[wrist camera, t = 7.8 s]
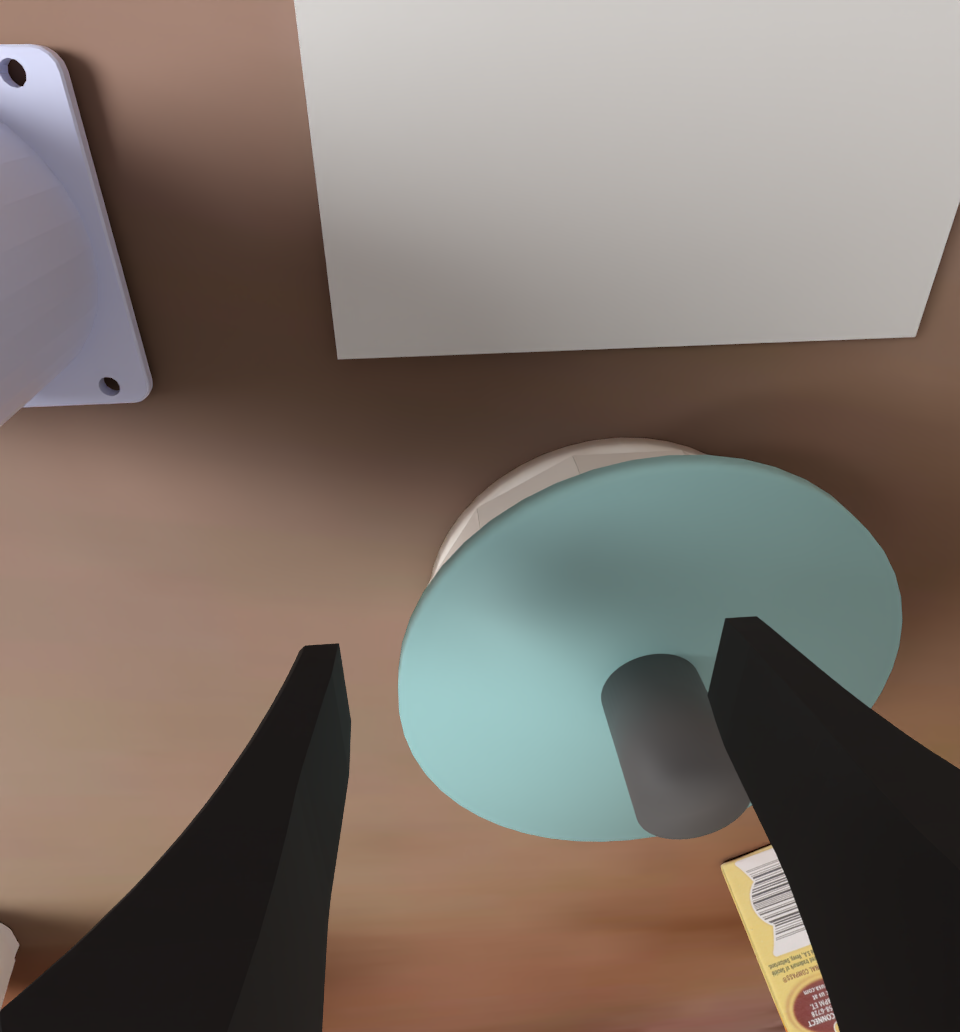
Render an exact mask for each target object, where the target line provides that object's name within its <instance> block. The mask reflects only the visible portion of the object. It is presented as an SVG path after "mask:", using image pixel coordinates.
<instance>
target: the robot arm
mask: <svg viewBox="0 0 960 1032" xmlns="http://www.w3.org/2000/svg"><path fill="white" fill-rule="evenodd" d="M12 59H15V60H16V61H18V62H19V63H20V64H21V65H22V66H23V68H24V70H25V72H26V82H25V84H24V86H19V85H17V84H16V83H15V82H14V81H13V80H12V79H11V77H10V75H9V73H8V64H9V62H10V60H12ZM104 377H109V378H113V379H114V380H116V381H117V382H118V384H119V386H120V390H113V389H111V388H109V387H108V386H107V385H106V384H105V382H104ZM152 387H153V382H152V377H151V373H150V369H149V366H148V362H147V358H146V355H145V351H144V347H143V344H142V340H141V336H140V333H139V329H138V325H137V322H136V318H135V314H134V311H133V307H132V303H131V300H130V296H129V292H128V289H127V285H126V281H125V277H124V274H123V270H122V266H121V263H120V259H119V255H118V252H117V248H116V244H115V241H114V237H113V233H112V230H111V226H110V222H109V219H108V215H107V211H106V208H105V204H104V200H103V197H102V193H101V189H100V186H99V182H98V178H97V174H96V171H95V167H94V163H93V160H92V156H91V152H90V149H89V145H88V141H87V138H86V134H85V130H84V127H83V123H82V119H81V116H80V112H79V108H78V105H77V101H76V97H75V94H74V90H73V86H72V83H71V79H70V75H69V72H68V70H67V67H66V65H65V63H64V61H63V60H62V59H61V58H60V56H59V55H58V54H57V53H56V52H54V51H53V50H51V49H50V48H48V47H46V46H42V45H37V44H0V427H1V426H2V425H3V424H4V423H5V422H6V421H8V420H9V419H10V418H11V417H12V416H13V415H14V414H15V413H16V412H18V411H19V410H20V409H21V408H22V407H46V406H69V405H93V404H117V403H136V402H140V401H142V400H144V399H145V398H146V397H147V396H148V395H149V394H150V392H151V390H152ZM707 696H708V699H709V702H710V705H711V708H712V712H713V715H714V718H715V721H716V724H717V727H718V730H719V733H720V736H721V739H722V741H723V744H724V747H725V749H726V751H727V753H728V755H729V758H730V760H731V762H732V764H733V766H734V768H735V770H736V772H737V774H738V777H739V779H740V781H741V783H742V785H743V787H744V789H745V791H746V793H747V795H748V797H749V799H750V802H751V804H752V806H753V808H754V810H755V812H756V814H757V816H758V818H759V820H760V822H761V824H762V826H763V828H764V830H765V832H766V835H767V837H768V839H769V841H770V843H771V845H772V847H773V849H774V851H775V853H776V855H777V857H778V860H779V862H780V864H781V867H782V869H783V871H784V873H785V876H786V878H787V880H788V883H789V886H790V888H791V891H792V894H793V897H794V899H795V902H796V905H797V907H798V910H799V913H800V916H801V918H802V921H803V924H804V926H805V929H806V932H807V935H808V938H809V940H810V943H811V946H812V949H813V952H814V955H815V958H816V961H817V964H818V967H819V970H820V972H821V975H822V978H823V981H824V984H825V987H826V990H827V993H828V996H829V999H830V1003H831V1006H832V1009H833V1012H834V1015H835V1018H836V1022H837V1025H838V1028H839V1031H840V1032H960V769H958V768H957V767H955V766H954V765H952V764H951V763H949V762H947V761H946V760H944V759H943V758H941V757H940V756H938V755H936V754H935V753H933V752H932V751H930V750H929V749H927V748H925V747H924V746H923V745H921V744H920V743H918V742H917V741H915V740H914V739H912V738H911V737H909V736H908V735H906V734H905V733H904V732H902V731H901V730H899V729H898V728H897V727H895V726H894V725H893V724H891V723H890V722H888V721H887V720H886V719H884V718H883V717H881V716H880V715H879V714H877V713H876V712H875V711H873V710H872V709H871V708H869V707H868V706H867V705H865V704H864V703H863V702H861V701H860V700H859V699H857V698H856V697H855V696H854V695H852V694H851V693H850V692H849V691H847V690H846V689H845V688H843V687H842V686H841V685H840V684H838V683H837V682H836V681H835V680H833V679H832V678H831V677H830V676H829V675H827V674H826V673H825V672H824V671H822V670H821V669H820V668H819V667H818V666H816V665H815V664H814V663H813V662H812V661H810V660H809V659H808V658H807V657H806V656H804V655H803V654H802V653H801V652H800V651H798V650H797V649H796V648H795V647H794V646H792V645H791V644H790V643H789V642H788V641H786V640H785V639H784V638H783V637H782V636H781V635H779V634H778V633H777V632H776V631H775V630H773V629H772V628H771V627H770V626H768V625H767V624H766V623H765V622H764V621H762V620H761V619H760V618H758V617H757V616H751V617H736V618H725V621H724V625H723V630H722V634H721V638H720V643H719V647H718V652H717V656H716V660H715V665H714V669H713V673H712V678H711V682H710V686H709V691H708V695H707ZM350 737H351V718H350V712H349V705H348V699H347V692H346V686H345V680H344V673H343V667H342V660H341V654H340V647H339V644H324V645H308V646H304V647H303V648H302V649H301V650H300V651H299V653H298V655H297V658H296V660H295V662H294V664H293V666H292V668H291V670H290V672H289V674H288V676H287V678H286V680H285V682H284V684H283V686H282V687H281V689H280V691H279V693H278V695H277V696H276V698H275V700H274V702H273V704H272V705H271V707H270V709H269V710H268V712H267V714H266V715H265V717H264V719H263V720H262V722H261V724H260V725H259V727H258V728H257V730H256V732H255V733H254V735H253V737H252V738H251V740H250V741H249V743H248V745H247V746H246V748H245V749H244V751H243V752H242V753H241V755H240V756H239V758H238V759H237V761H236V762H235V764H234V765H233V767H232V768H231V769H230V771H229V772H228V774H227V775H226V777H225V778H224V780H223V781H222V783H221V784H220V785H219V787H218V788H217V789H216V791H215V792H214V793H213V795H212V796H211V797H210V799H209V800H208V801H207V803H206V804H205V805H204V807H203V808H202V809H201V810H200V812H199V813H198V814H197V815H196V817H195V818H194V819H193V820H192V822H191V823H190V824H189V825H188V827H187V828H186V829H185V830H184V832H183V833H182V834H181V835H180V836H179V837H178V839H177V840H176V841H175V842H174V843H173V844H172V845H171V847H170V848H169V849H168V850H167V851H166V852H165V853H164V855H163V856H162V857H161V858H160V859H159V860H158V861H157V863H156V864H155V865H154V866H153V867H152V868H151V869H150V870H149V871H148V873H147V874H146V875H145V876H144V877H143V878H142V879H141V880H140V881H139V882H138V883H137V884H136V885H135V886H134V888H133V889H132V890H131V891H130V892H129V893H128V894H127V895H126V896H125V897H124V898H123V899H122V900H121V901H120V902H119V903H118V904H117V905H116V906H114V907H113V908H112V909H111V910H110V911H109V912H108V913H107V914H106V915H105V916H104V917H103V918H102V919H101V920H100V921H99V922H98V923H97V924H96V925H95V926H94V927H93V928H92V929H91V930H90V931H89V932H88V933H87V934H86V935H85V936H84V937H83V938H82V939H81V940H80V941H79V942H78V943H77V944H76V945H75V946H73V947H72V948H71V949H70V950H69V951H68V952H67V953H66V954H65V955H64V956H62V957H61V958H60V959H59V960H58V961H57V962H56V963H54V964H53V965H52V966H51V967H50V968H49V969H48V970H46V971H45V972H44V973H43V974H42V975H41V976H40V977H38V978H37V979H36V980H35V981H34V982H33V983H32V984H30V985H29V986H28V987H27V988H26V989H25V990H24V991H22V992H21V993H20V994H19V995H18V996H17V997H16V998H14V999H13V1000H12V1001H11V1002H10V1003H9V1004H7V1005H6V1006H5V1007H4V1008H3V1009H1V1010H0V1032H322V1022H323V1002H324V982H325V965H326V948H327V931H328V918H329V909H330V900H331V892H332V885H333V879H334V872H335V865H336V859H337V852H338V845H339V839H340V832H341V826H342V819H343V812H344V806H345V799H346V792H347V785H348V778H349V763H350Z"/></svg>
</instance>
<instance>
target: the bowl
mask: <svg viewBox="0 0 960 1032" xmlns="http://www.w3.org/2000/svg"><path fill="white" fill-rule="evenodd" d="M667 455H707V454H705V453H702V452H700V451H698V450H695V449H693V448H691V447H687V446H684V445H680V444H676V443H673V442H669V441H663V440H656V439H649V438H620V437H618V438H609V439H600V440H592V441H587V442H583V443H578V444H574V445H569V446H566V447H563V448H560V449H557V450H554V451H551V452H549V453H546V454H543V455H541V456H539V457H537V458H535V459H532V460H530V461H528V462H526V463H524V464H522V465H520V466H518V467H517V468H515V469H514V470H512V471H510V472H509V473H507V474H506V475H504V476H502V477H501V478H499V479H498V480H497V481H495V482H494V483H493V484H492V485H490V486H489V487H488V488H487V489H486V490H484V491H483V492H482V493H481V494H479V495H478V496H477V497H476V498H475V500H474V501H473V502H472V503H471V504H470V505H469V506H468V507H467V508H466V509H465V510H464V511H463V512H462V514H461V515H460V516H459V518H458V519H457V520H456V522H455V523H454V525H453V526H452V527H451V529H450V530H449V532H448V534H447V536H446V538H445V539H444V541H443V543H442V545H441V547H440V549H439V552H438V555H437V557H436V560H435V563H434V566H433V570H432V575H431V580H432V579H433V578H434V576H435V575H436V573H437V572H438V571H439V569H440V568H441V566H442V565H443V564H444V563H445V562H446V561H447V560H448V559H449V558H450V557H451V556H452V555H453V554H454V553H455V551H456V550H457V549H458V548H459V547H460V546H461V545H462V544H463V543H464V542H465V541H466V540H468V539H469V538H470V537H471V536H472V535H474V534H475V533H476V532H477V531H478V530H480V529H481V528H482V527H483V526H484V525H486V524H487V523H488V522H489V521H490V520H492V519H493V518H495V517H496V516H498V515H500V514H501V513H503V512H504V511H506V510H507V509H509V508H510V507H512V506H513V505H515V504H517V503H518V502H520V501H521V500H523V499H525V498H527V497H529V496H531V495H533V494H535V493H537V492H539V491H541V490H543V489H545V488H547V487H549V486H551V485H553V484H555V483H557V482H560V481H563V480H566V479H568V478H571V477H574V476H576V475H579V474H582V473H585V472H587V471H590V470H593V469H597V468H601V467H605V466H609V465H613V464H617V463H621V462H626V461H630V460H636V459H644V458H651V457H659V456H667ZM431 580H430V582H431ZM430 582H429V583H430ZM429 583H428V585H429ZM428 585H427V586H428Z"/></svg>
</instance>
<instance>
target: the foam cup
mask: <svg viewBox="0 0 960 1032" xmlns="http://www.w3.org/2000/svg"><path fill="white" fill-rule="evenodd" d="M18 948H19V943H18V941H17V940H16V938H15V936H14V934H13V932H12V931H11V929H10V928H8V927H7V926H5V925H3V924H2V923H0V1010H1V1006H2V1003H3V1000H4V996H5V993H6V990H7V986H8V983H9V980H10V976H11V973H12V970H13V967H14V963H15V955H16V953H17V950H18Z"/></svg>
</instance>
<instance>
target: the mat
mask: <svg viewBox="0 0 960 1032" xmlns="http://www.w3.org/2000/svg"><path fill="white" fill-rule="evenodd" d="M294 4H295V12H296V20H297V28H298V37H299V45H300V53H301V61H302V69H303V78H304V86H305V94H306V102H307V111H308V119H309V127H310V135H311V144H312V152H313V160H314V168H315V176H316V185H317V193H318V201H319V209H320V218H321V226H322V234H323V242H324V250H325V259H326V267H327V275H328V283H329V292H330V300H331V308H332V316H333V325H334V333H335V341H336V349H337V357H338V359H362V358H387V357H413V356H439V355H465V354H490V353H516V352H542V351H568V350H593V349H619V348H645V347H670V346H696V345H722V344H748V343H773V342H799V341H825V340H851V339H876V338H902V337H915V336H916V333H917V330H918V327H919V324H920V321H921V318H922V315H923V312H924V309H925V306H926V303H927V300H928V297H929V294H930V291H931V287H932V284H933V281H934V278H935V275H936V272H937V269H938V266H939V263H940V260H941V257H942V254H943V251H944V248H945V245H946V242H947V239H948V236H949V232H950V229H951V226H952V223H953V220H954V217H955V214H956V211H957V208H958V205H959V202H960V0H294Z"/></svg>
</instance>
